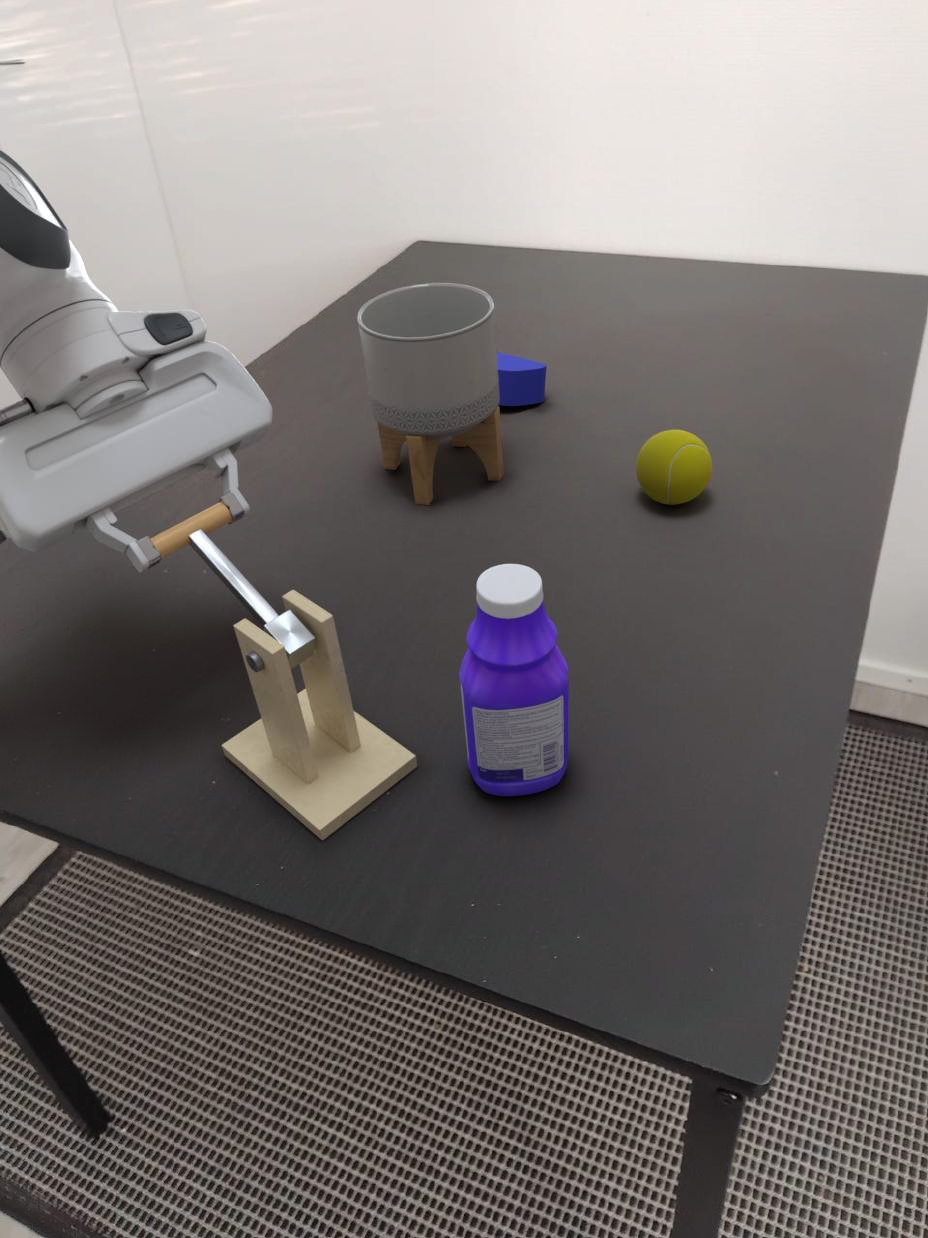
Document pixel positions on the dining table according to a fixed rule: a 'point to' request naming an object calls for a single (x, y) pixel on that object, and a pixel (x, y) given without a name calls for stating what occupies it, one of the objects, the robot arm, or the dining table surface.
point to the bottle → (514, 687)
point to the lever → (236, 580)
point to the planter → (433, 376)
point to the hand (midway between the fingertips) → (197, 540)
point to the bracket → (311, 729)
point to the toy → (520, 380)
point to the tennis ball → (673, 467)
